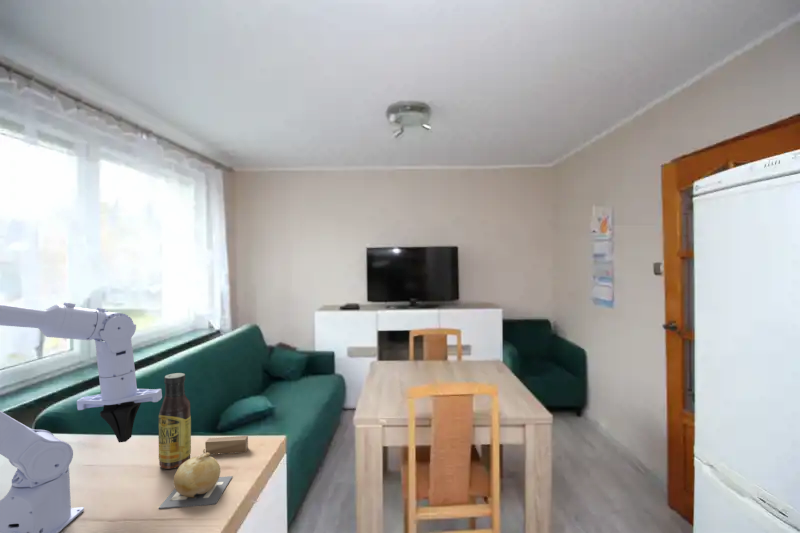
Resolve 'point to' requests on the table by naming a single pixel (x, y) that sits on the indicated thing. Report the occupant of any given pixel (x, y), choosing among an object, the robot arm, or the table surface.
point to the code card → (197, 496)
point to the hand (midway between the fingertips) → (125, 439)
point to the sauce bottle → (174, 423)
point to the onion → (197, 475)
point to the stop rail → (227, 444)
